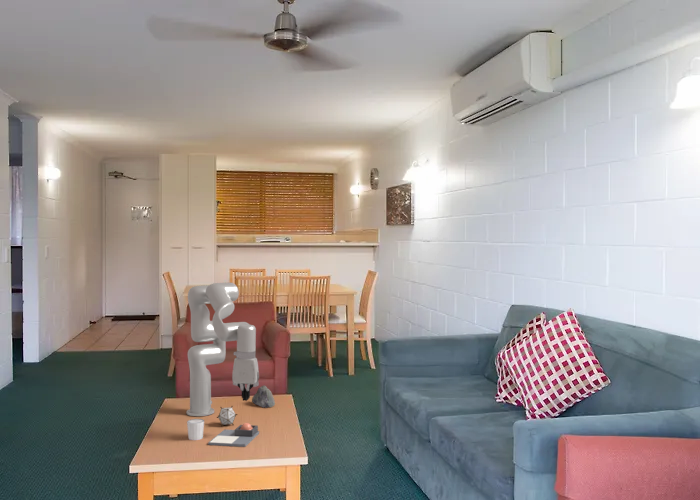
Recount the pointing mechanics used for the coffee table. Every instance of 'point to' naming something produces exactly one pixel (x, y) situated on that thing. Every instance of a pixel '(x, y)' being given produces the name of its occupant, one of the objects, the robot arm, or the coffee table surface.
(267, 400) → the mineral rock
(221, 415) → the game die
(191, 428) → the shot glass
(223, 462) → the coffee table surface
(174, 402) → the coffee table surface
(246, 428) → the dome
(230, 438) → the board
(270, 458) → the coffee table surface
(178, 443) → the coffee table surface
